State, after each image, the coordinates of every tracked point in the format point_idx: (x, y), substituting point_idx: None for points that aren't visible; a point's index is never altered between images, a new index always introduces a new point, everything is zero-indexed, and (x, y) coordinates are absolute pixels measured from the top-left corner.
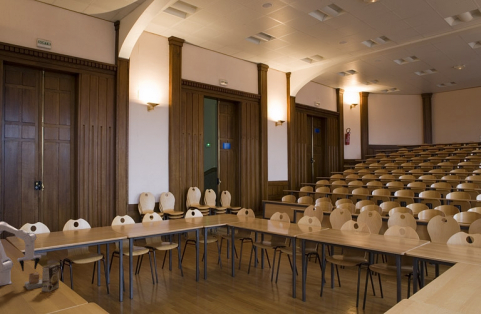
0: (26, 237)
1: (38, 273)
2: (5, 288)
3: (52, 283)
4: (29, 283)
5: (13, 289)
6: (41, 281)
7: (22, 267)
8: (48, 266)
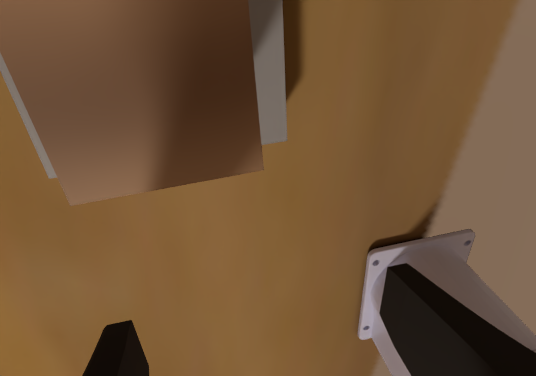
0: None
1: (9, 71)
2: (460, 127)
3: None
4: None
5: (417, 30)
6: None
7: (492, 333)
8: None
